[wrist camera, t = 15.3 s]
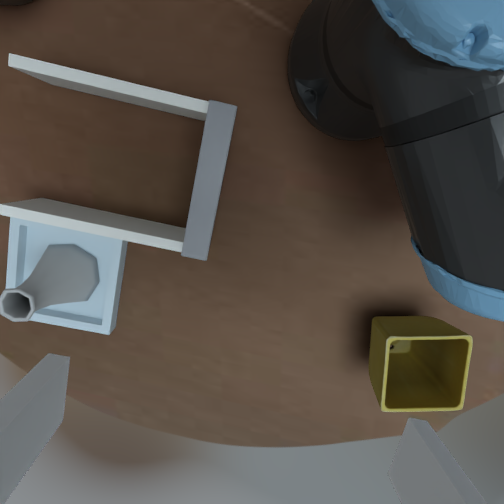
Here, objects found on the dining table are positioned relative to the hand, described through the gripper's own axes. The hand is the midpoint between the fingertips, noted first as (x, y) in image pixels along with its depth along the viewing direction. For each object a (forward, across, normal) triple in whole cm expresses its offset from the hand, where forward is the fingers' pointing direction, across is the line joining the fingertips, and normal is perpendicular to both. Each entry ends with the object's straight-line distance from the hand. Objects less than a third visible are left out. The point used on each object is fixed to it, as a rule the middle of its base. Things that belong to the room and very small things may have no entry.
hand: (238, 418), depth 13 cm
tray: (+29, -19, -7) cm, 35 cm away
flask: (+28, -19, -7) cm, 35 cm away
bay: (+29, -14, +7) cm, 33 cm away
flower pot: (+29, +21, -7) cm, 36 cm away
